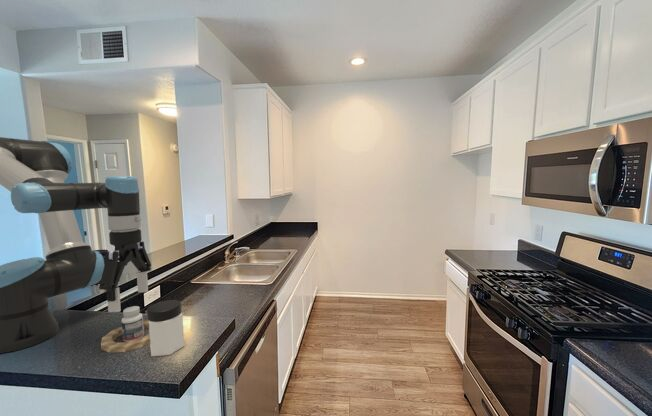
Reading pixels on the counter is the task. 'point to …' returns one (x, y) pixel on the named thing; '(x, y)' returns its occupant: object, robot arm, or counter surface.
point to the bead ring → (114, 347)
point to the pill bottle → (132, 324)
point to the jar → (165, 327)
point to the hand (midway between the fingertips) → (130, 301)
